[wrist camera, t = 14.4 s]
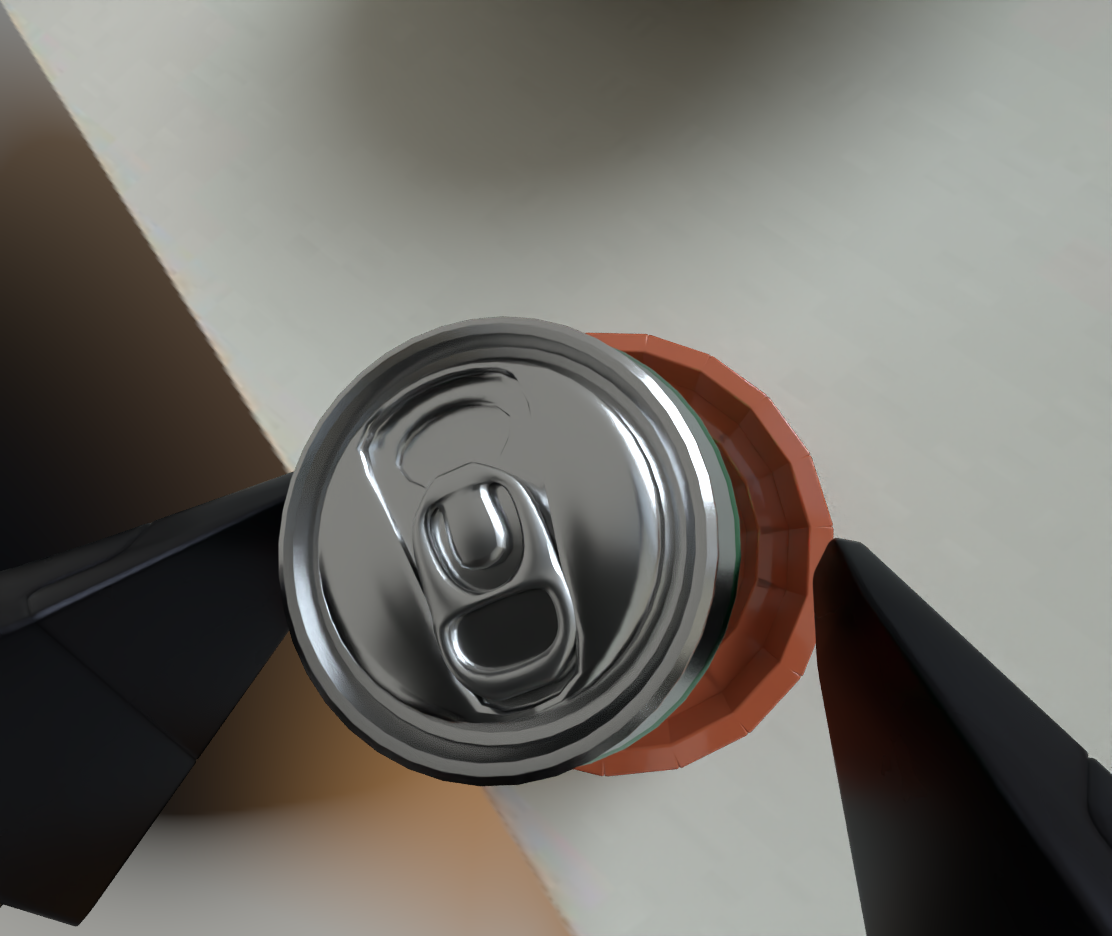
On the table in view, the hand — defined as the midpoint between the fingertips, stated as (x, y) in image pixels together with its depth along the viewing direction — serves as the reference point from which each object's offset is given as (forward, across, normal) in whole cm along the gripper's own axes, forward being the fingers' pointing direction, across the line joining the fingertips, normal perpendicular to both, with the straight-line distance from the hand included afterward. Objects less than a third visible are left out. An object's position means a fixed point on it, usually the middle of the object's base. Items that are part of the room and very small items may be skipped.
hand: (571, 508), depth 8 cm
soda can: (+5, 0, +6) cm, 8 cm away
